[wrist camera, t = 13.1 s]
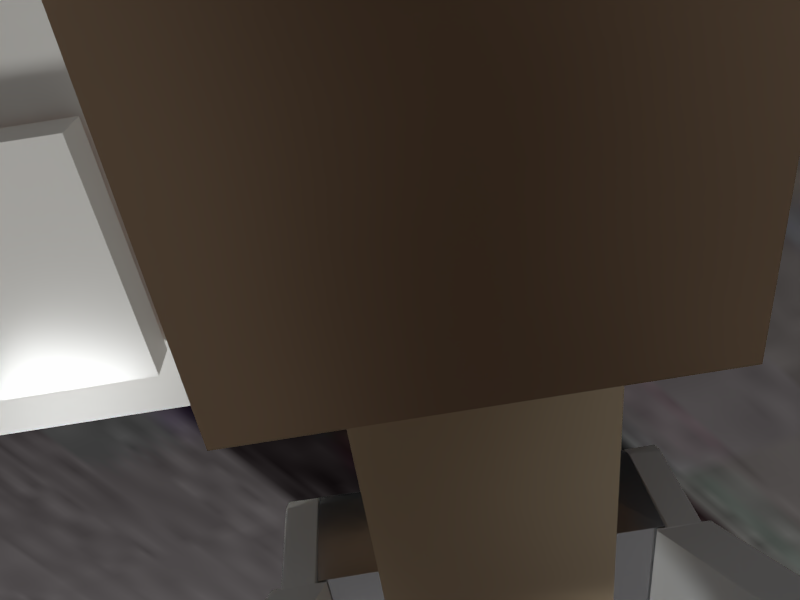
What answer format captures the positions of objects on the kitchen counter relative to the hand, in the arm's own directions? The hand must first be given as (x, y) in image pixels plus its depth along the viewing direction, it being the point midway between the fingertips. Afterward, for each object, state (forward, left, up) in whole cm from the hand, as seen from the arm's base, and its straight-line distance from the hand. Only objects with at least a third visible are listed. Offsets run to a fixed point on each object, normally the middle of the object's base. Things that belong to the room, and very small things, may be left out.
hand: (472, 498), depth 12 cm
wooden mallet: (0, -1, -2) cm, 2 cm away
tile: (+13, +5, -13) cm, 19 cm away
